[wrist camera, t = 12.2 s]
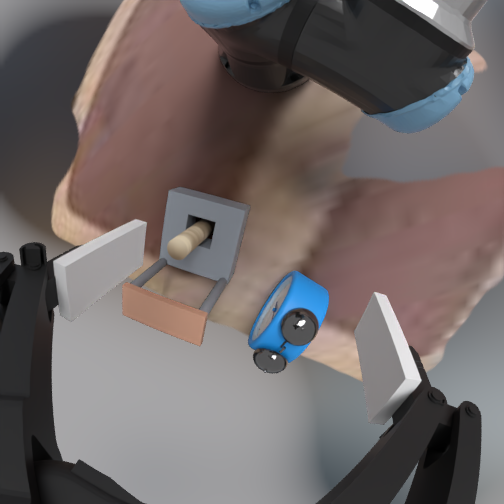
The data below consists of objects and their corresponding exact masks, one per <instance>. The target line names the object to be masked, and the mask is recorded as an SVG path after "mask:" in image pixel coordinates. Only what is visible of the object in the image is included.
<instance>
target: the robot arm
mask: <svg viewBox="0 0 504 504" xmlns="http://www.w3.org/2000/svg"><path fill="white" fill-rule="evenodd" d="M487 1H488V0H180V2H181V4H182V6H183V7H184V8H185V10H186V11H187V13H188V15H189V17H190V18H191V19H192V20H193V21H194V22H195V23H196V24H199V25H200V26H201V27H202V28H203V29H204V30H205V31H206V32H207V33H208V34H209V35H210V36H211V37H212V38H213V39H214V40H215V41H216V43H217V44H218V45H219V56H220V60H221V62H222V64H223V66H224V68H225V69H226V71H227V72H228V73H229V74H230V75H231V76H232V77H233V78H234V79H235V80H236V81H237V82H238V83H240V84H241V85H243V86H245V87H247V88H249V89H252V90H255V91H260V92H267V93H275V92H283V91H287V90H290V89H293V88H296V87H298V86H300V85H301V84H303V83H304V82H306V81H307V80H308V79H310V80H312V81H314V82H316V83H318V84H320V85H321V86H323V87H325V88H327V89H329V90H330V91H332V92H334V93H336V94H337V95H339V96H341V97H342V98H344V99H346V100H347V101H349V102H351V103H352V104H354V105H355V106H357V107H359V108H360V109H361V111H362V112H363V113H364V114H365V115H367V116H369V117H372V118H375V119H377V120H379V121H380V122H382V123H383V124H385V125H386V126H388V127H389V128H391V129H393V130H394V131H397V132H402V133H415V132H419V131H422V130H424V129H427V128H429V127H430V126H432V125H434V124H436V123H437V122H439V121H440V120H441V119H442V118H444V117H445V116H446V115H448V114H449V113H450V112H451V111H452V110H453V109H454V108H455V107H456V106H457V105H458V104H459V103H460V101H461V100H462V98H461V95H463V94H464V93H466V92H467V91H468V90H469V88H470V86H471V84H472V81H473V77H474V69H473V65H472V64H471V62H470V59H469V58H468V57H467V56H468V55H469V54H470V53H471V52H472V50H473V49H474V48H475V44H474V39H473V34H472V30H471V21H472V20H473V18H474V17H475V16H476V15H477V13H478V12H479V11H480V10H481V8H482V7H483V6H484V4H485V3H486V2H487ZM146 225H147V222H144V221H140V220H137V219H135V220H133V221H131V222H129V223H127V224H124V225H122V226H120V227H118V228H116V229H114V230H112V231H110V232H108V233H106V234H104V235H102V236H100V237H98V238H96V239H94V240H92V241H90V242H88V243H86V244H84V245H80V246H76V247H74V248H72V249H70V250H69V251H66V252H64V253H63V254H61V255H59V256H57V257H55V258H53V259H51V260H50V261H48V262H47V258H46V246H45V245H43V244H42V243H37V242H36V243H35V242H33V243H28V244H25V245H23V246H22V247H21V248H20V249H19V250H20V259H21V265H16V264H14V257H13V255H12V254H11V253H8V252H0V504H145V503H142V502H140V501H139V500H138V499H136V498H135V497H134V496H132V495H131V494H130V493H128V492H127V491H126V490H124V489H123V488H122V487H121V486H120V485H118V484H117V483H116V482H115V481H114V480H112V479H111V478H110V477H108V476H106V475H104V474H102V473H101V472H99V471H97V470H95V469H94V468H92V467H91V466H89V465H87V464H86V463H84V462H83V461H81V460H78V461H77V463H76V464H73V463H69V462H65V461H63V460H62V457H61V454H60V451H59V449H58V446H57V442H56V436H55V428H54V418H53V404H52V378H51V377H52V370H51V369H52V366H51V365H52V338H53V323H54V311H53V308H55V307H56V306H57V305H59V311H60V315H61V316H62V317H64V318H65V319H67V320H69V321H71V322H72V321H74V320H75V319H76V318H77V317H78V316H80V315H81V314H82V313H83V312H84V311H86V310H87V309H88V308H89V307H90V306H92V305H93V304H94V303H95V302H97V301H98V300H99V299H100V298H101V297H103V296H104V295H105V294H106V293H108V292H109V291H110V290H111V289H113V288H114V287H115V286H117V285H118V284H119V283H120V282H122V281H123V280H124V279H125V278H127V277H128V276H129V275H131V274H132V273H133V272H134V271H136V270H137V269H138V268H140V267H141V266H142V265H143V255H144V244H145V234H146ZM354 333H355V339H356V344H357V349H358V355H359V360H360V366H361V372H362V378H363V384H364V391H365V398H366V405H367V412H368V421H369V423H373V424H383V425H384V424H385V423H386V422H387V421H388V420H389V419H390V418H391V417H392V418H393V424H392V425H391V426H390V427H389V428H388V429H387V431H385V432H384V433H383V434H382V435H381V436H380V440H379V441H378V442H377V443H376V444H375V445H374V447H373V448H372V449H371V450H370V452H368V453H367V454H366V456H365V457H364V458H363V459H362V460H361V461H360V462H359V463H358V464H357V465H356V466H355V467H354V469H352V470H351V472H350V473H349V474H348V475H347V476H346V477H345V478H343V479H342V480H341V481H340V482H339V483H338V484H337V485H336V486H335V487H334V488H333V489H332V490H331V491H330V492H329V493H328V494H327V495H325V496H324V497H323V498H322V499H321V500H319V501H318V502H317V503H316V504H390V503H391V501H392V500H393V499H394V497H395V496H396V494H397V493H398V492H399V490H400V489H401V487H402V486H403V484H404V483H405V482H406V480H407V479H408V477H409V475H410V474H411V472H412V471H413V469H414V468H415V466H416V464H417V463H418V466H417V469H416V473H415V476H414V479H413V482H412V485H411V488H410V491H409V493H408V496H407V499H406V502H405V504H475V499H476V493H477V486H478V478H479V470H480V455H481V413H480V411H479V409H478V407H477V406H476V405H475V404H473V403H472V402H469V401H464V402H463V403H461V405H460V406H459V407H458V408H456V407H453V406H450V405H448V404H447V400H446V397H445V396H444V394H443V393H442V392H441V391H440V390H438V389H436V388H435V387H431V385H430V382H429V380H428V377H427V375H426V372H425V369H423V368H424V367H423V364H422V363H421V360H420V357H419V355H418V353H417V352H416V351H415V349H414V348H413V347H412V346H408V344H407V342H406V339H405V337H404V334H403V332H402V330H401V327H400V325H399V323H398V321H397V318H396V316H395V314H394V312H393V309H392V307H391V305H390V303H389V301H388V299H387V296H386V295H383V294H380V293H377V292H374V293H373V295H372V297H371V299H370V301H369V304H368V306H367V308H366V310H365V312H364V314H363V316H362V318H361V320H360V321H359V323H358V325H357V327H356V329H355V331H354ZM418 461H419V462H418Z"/></svg>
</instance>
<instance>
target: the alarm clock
mask: <svg viewBox="0 0 504 504" xmlns="http://www.w3.org/2000/svg"><path fill="white" fill-rule="evenodd" d="M328 303H329V294H328V291H327V290H326V289H325V288H323V287H322V286H320V285H319V284H317V283H315V282H314V281H312V280H311V279H309V278H308V277H306V276H304V275H303V274H301V273H300V272H298V271H292V272H290V273H288V274H287V275H286V276H285V277H284V278H283V279H282V280H281V282H280V283H279V284H278V285H277V287H276V288H275V289H274V291H273V292H272V294H271V295H270V297H269V298H268V300H267V301H266V303H265V304H264V306H263V308H262V309H261V311H260V313H259V315H258V317H257V319H256V321H255V323H254V325H253V327H252V329H251V332H250V335H249V339H248V344H249V346H250V347H251V348H252V349H254V350H255V351H254V354H253V360H254V362H255V364H256V366H257V367H258V368H259V369H261V370H263V371H264V372H265V373H266V372H267V373H279V372H281V371H283V370H284V369H285V368H286V367H287V365H288V363H290V362H291V361H293V360H294V359H296V358H297V357H298V356H299V355H300V354H301V353H302V352H303V351H304V350H305V349H306V348H307V347H308V345H309V344H310V343H311V341H312V340H314V338H315V337H316V335H317V333H318V330H319V328H320V326H321V324H322V322H323V320H324V317H325V315H326V312H327V308H328Z"/></svg>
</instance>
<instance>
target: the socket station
mask: <svg viewBox="0 0 504 504" xmlns="http://www.w3.org/2000/svg"><path fill="white" fill-rule="evenodd" d="M249 210H250V205H247V204H243V203H240V202H236V201H232V200H229V199H225V198H221V197H218V196H214V195H210V194H206V193H202V192H199V191H195V190H191V189H187V188H183V187H178V188H175V189H171V190H169V193H168V199H167V206H166V212H165V219H164V226H163V234H162V241H161V250H160V258H159V260H158V261H157V262H156V263H154V264H153V265H152V266H151V267H149V268H148V269H147V270H146V271H144V272H143V273H142V274H141V275H140V276H138V277H137V278H136V279H135V280H133V281H132V282H131V283H128V282H126V283H125V284H124V285H123V315H124V316H127V317H129V318H131V319H133V320H136V321H138V322H140V323H142V324H145V325H147V326H149V327H152V328H154V329H157V330H160V331H161V332H164V333H167V334H169V335H171V336H174V337H177V338H179V339H182V340H185V341H187V342H190V343H192V344H195V345H198V346H200V345H201V344H202V342H203V337H204V331H205V326H206V321H207V316H208V314H209V313H210V311H211V309H212V308H213V306H214V304H215V303H216V301H217V299H218V298H219V296H220V294H221V293H222V291H223V289H224V288H225V286H226V284H228V283H229V281H230V279H231V278H232V276H233V274H234V270H235V266H236V262H237V258H238V254H239V250H240V246H241V242H242V238H243V234H244V230H245V226H246V222H247V218H248V214H249ZM196 217H200V218H203V219H207V220H210V221H214V222H216V223H215V228H214V233H213V238H212V239H209V238H206V239H205V240H204V241H203V242H202V243H200V244H199V245H198V246H197V247H196V248H195V249H194V250H193V251H192V252H190V253H189V254H188V255H187V256H186V257H185V258H184V259H182V260H176V259H173V258H172V257H171V256H170V255H169V253H168V251H167V245H168V243H169V241H170V240H172V239H173V238H175V237H176V236H178V235H179V234H180V233H182V232H183V231H185V230H186V229H188V228H189V227H191V226H192V225H194V224H195V222H196ZM167 264H168V265H171V266H174V267H177V268H180V269H183V270H186V271H189V272H192V273H195V274H197V275H200V276H204V277H207V278H210V279H213V280H216V281H218V282H217V283H216V285H215V286H214V287H213V289H212V290H211V292H210V293H209V295H208V296H207V298H206V299H205V301H204V302H203V304H202V305H201V307H200V308H199V310H198V309H196V308H193V307H190V306H187V305H184V304H182V303H179V302H176V301H174V300H171V299H168V298H166V297H163V296H160V295H158V294H155V293H153V292H150V291H148V290H145V289H142V288H141V287H142V286H143V285H144V284H145V283H146V282H147V281H148V280H150V279H151V278H152V277H153V276H154V275H155V274H156V273H158V272H159V271H160V270H161V269H162V268H163V267H165V266H166V265H167Z"/></svg>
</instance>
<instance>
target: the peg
mask: <svg viewBox="0 0 504 504" xmlns="http://www.w3.org/2000/svg"><path fill="white" fill-rule="evenodd" d="M215 223H216V222H214V221H210V220H207V219H201V220H200V221H198V222H197V223H195V224H194V225H192V226H191V227H189V228H188V229H186V230H185V231H183V232H182V233H180V234H179V235H178V236H176V237H175V238H173V239H172V240H170V241H169V243H168V245H167V251H168V253H169V255H170V256H171V257H172V258H173V259H176V260H182V259H184V258H185V257H186V256H187V255H188V254H189V253H190V252H192V251H193V250H194V249H195V248H196V247H197V246H198V245H199V244H200V243H202V242H203V241H204V240H205V239H206V238H207V237H208V236H209V235H211V234H212V233H213V232H214V228H215Z"/></svg>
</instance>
